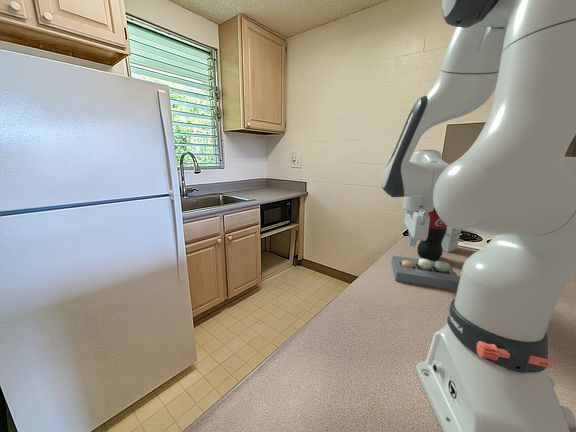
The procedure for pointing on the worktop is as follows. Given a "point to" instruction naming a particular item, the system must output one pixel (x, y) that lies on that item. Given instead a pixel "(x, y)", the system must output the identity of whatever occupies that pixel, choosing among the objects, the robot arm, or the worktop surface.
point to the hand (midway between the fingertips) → (411, 245)
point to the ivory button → (424, 263)
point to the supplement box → (450, 239)
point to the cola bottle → (433, 238)
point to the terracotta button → (407, 264)
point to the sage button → (441, 266)
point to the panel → (424, 274)
